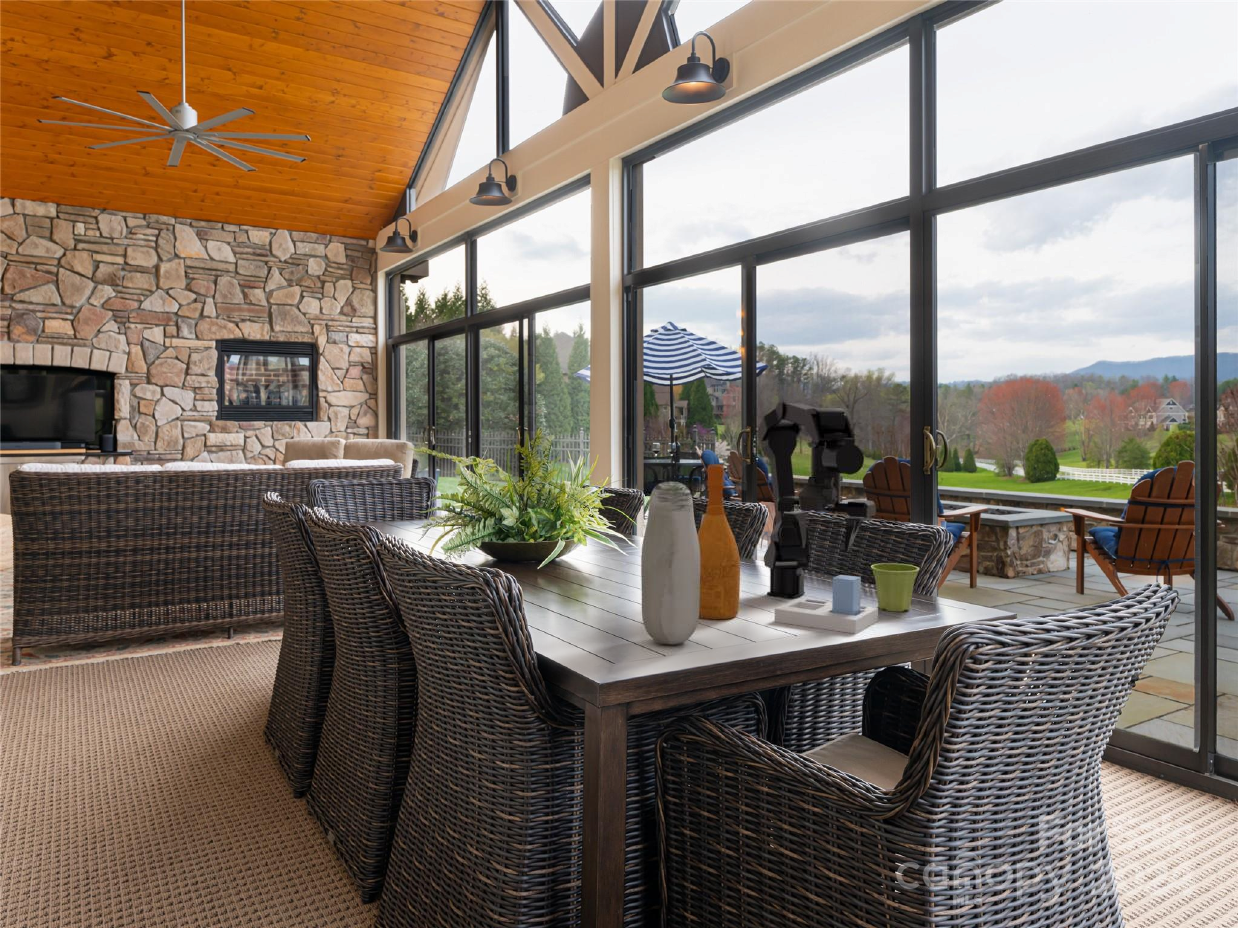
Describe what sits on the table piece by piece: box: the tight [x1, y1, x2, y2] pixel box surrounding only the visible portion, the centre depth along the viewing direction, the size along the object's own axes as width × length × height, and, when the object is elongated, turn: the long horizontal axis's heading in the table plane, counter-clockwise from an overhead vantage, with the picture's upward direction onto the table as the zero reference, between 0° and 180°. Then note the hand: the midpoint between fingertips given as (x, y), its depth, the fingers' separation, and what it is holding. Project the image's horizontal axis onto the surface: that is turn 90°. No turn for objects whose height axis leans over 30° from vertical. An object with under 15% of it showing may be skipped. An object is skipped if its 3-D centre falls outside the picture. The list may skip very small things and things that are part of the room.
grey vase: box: [640, 481, 700, 646], centre depth 149 cm, size 10×10×28 cm
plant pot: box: [870, 562, 920, 613], centre depth 177 cm, size 9×9×9 cm
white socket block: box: [774, 598, 879, 634], centre depth 166 cm, size 16×12×3 cm
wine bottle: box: [697, 463, 741, 620], centre depth 170 cm, size 10×10×30 cm
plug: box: [832, 574, 862, 616], centre depth 163 cm, size 4×5×9 cm
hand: (824, 549), depth 172 cm, fingers open, 9 cm apart
